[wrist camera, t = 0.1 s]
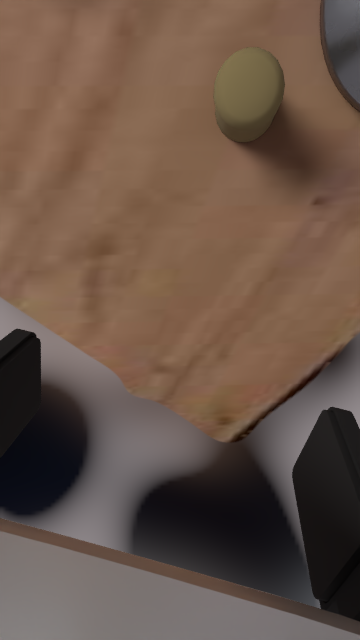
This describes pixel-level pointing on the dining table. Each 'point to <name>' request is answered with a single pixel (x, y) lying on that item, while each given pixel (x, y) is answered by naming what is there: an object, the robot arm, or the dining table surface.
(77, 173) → the dining table surface
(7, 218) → the dining table surface
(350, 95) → the base
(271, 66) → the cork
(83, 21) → the dining table surface
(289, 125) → the dining table surface
